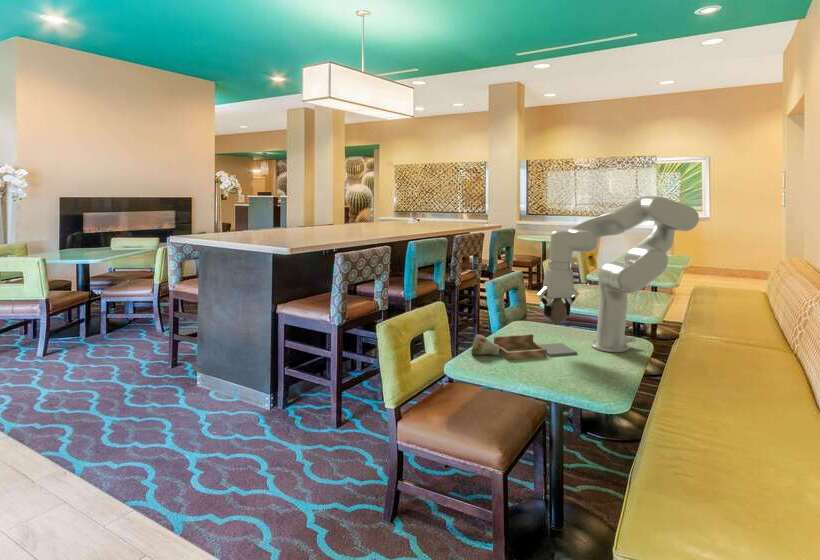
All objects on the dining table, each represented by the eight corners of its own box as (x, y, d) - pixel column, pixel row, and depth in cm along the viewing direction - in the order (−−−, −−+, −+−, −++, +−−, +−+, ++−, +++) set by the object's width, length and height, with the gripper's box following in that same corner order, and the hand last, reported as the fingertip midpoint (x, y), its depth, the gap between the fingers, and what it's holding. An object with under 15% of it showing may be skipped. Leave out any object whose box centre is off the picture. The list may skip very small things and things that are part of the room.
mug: (502, 359, 181) (489, 335, 178) (476, 367, 184) (463, 345, 182) (503, 347, 187) (490, 325, 185) (478, 356, 191) (466, 334, 188)
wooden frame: (531, 347, 193) (532, 334, 193) (546, 356, 183) (547, 342, 182) (493, 350, 190) (494, 336, 189) (506, 359, 179) (507, 345, 178)
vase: (554, 325, 184) (555, 300, 182) (542, 320, 190) (543, 296, 188) (570, 323, 186) (572, 299, 184) (558, 318, 192) (559, 295, 191)
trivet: (560, 345, 196) (560, 342, 196) (577, 354, 186) (577, 351, 186) (533, 347, 194) (534, 344, 194) (549, 356, 183) (549, 354, 183)
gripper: (576, 263, 190) (572, 312, 193) (532, 265, 186) (529, 314, 189) (588, 267, 183) (584, 316, 186) (543, 268, 179) (539, 319, 182)
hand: (556, 315), depth 187 cm, fingers closed on vase, 6 cm apart
